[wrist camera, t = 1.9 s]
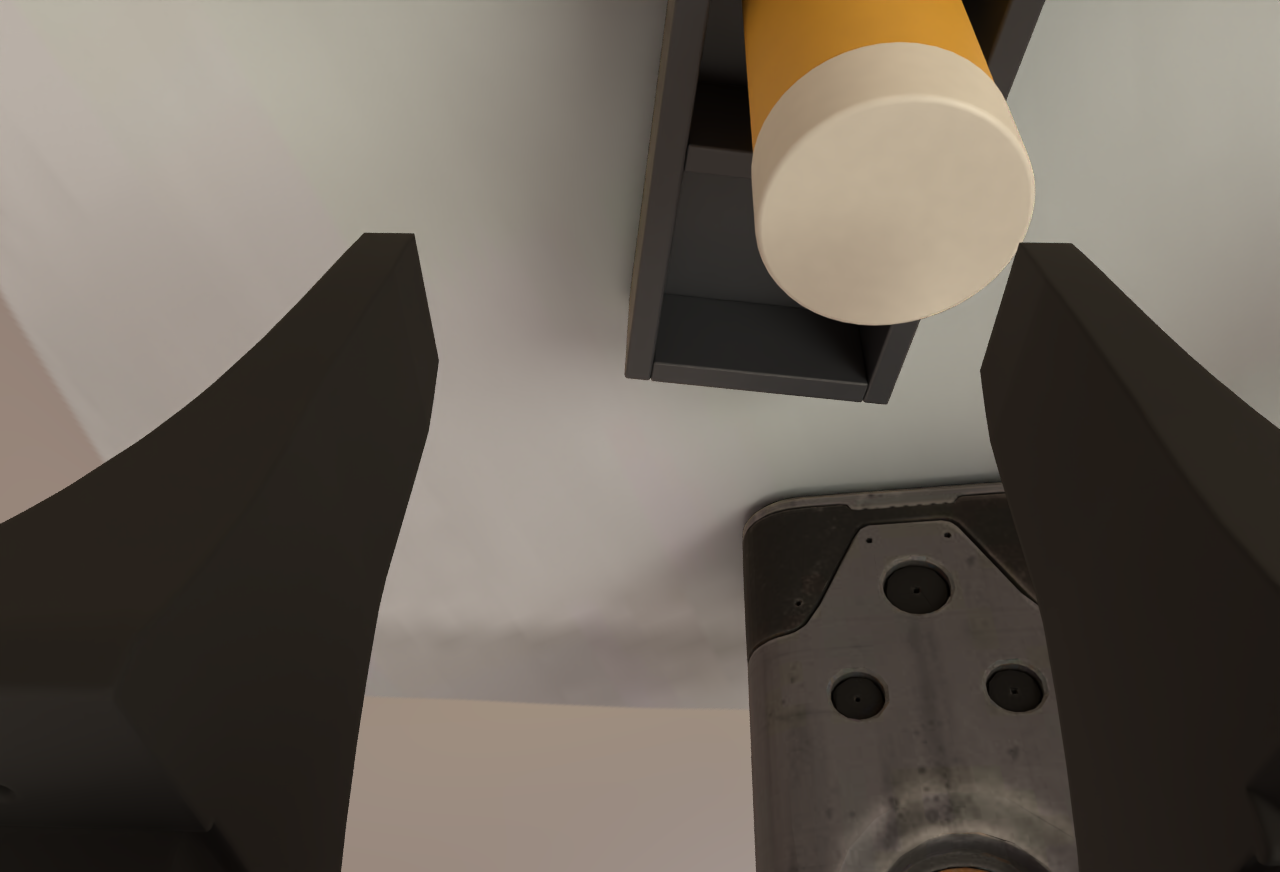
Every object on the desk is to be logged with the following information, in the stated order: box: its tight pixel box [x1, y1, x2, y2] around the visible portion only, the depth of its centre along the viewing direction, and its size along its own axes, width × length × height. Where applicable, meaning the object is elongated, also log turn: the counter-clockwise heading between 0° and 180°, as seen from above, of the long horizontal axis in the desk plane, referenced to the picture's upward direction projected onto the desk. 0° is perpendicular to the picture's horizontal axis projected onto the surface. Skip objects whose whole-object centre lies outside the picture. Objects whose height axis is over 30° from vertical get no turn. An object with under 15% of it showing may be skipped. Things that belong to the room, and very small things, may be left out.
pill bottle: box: [742, 0, 1035, 325], centre depth 17 cm, size 4×4×8 cm
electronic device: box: [742, 482, 1079, 872], centre depth 26 cm, size 9×6×20 cm, turn 99°
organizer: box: [625, 0, 1045, 404], centre depth 21 cm, size 6×12×3 cm, turn 174°
